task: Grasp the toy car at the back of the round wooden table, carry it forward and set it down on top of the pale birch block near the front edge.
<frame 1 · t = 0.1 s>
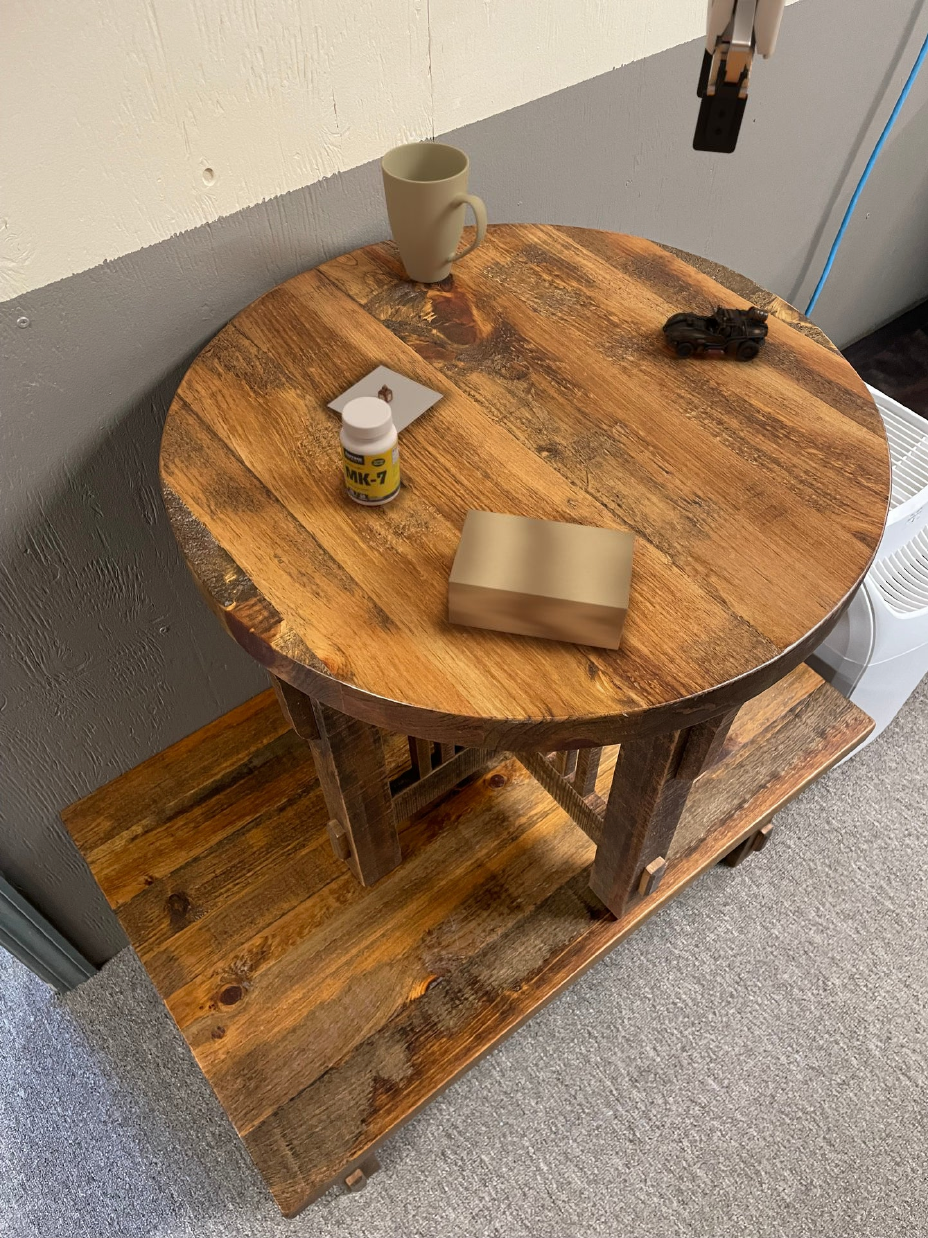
hand: (714, 122, 69), 23 cm above the table, tool pointing down, fingers open, 9 cm apart
supplement bottle: (373, 490, 76), on the table
toy car: (705, 345, 89), on the table
birch block: (539, 598, 68), on the table
mug: (436, 275, 97), on the table
gray square plate: (385, 402, 83), on the table
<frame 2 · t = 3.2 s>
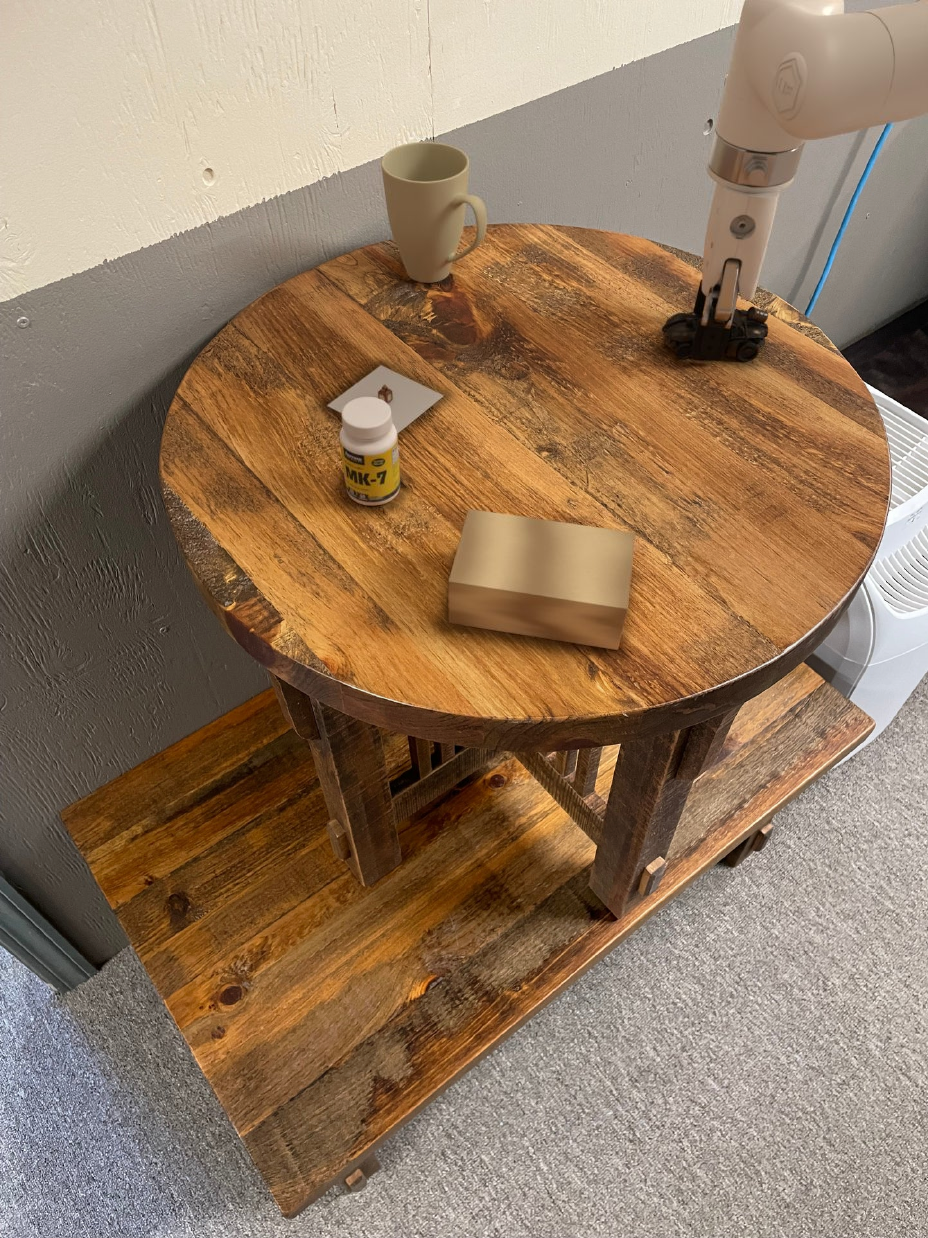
hand: (707, 335, 88), 1 cm above the table, tool pointing down, fingers closed on toy car, 6 cm apart
toy car: (704, 346, 89), on the table, touching gripper
everything else where it was.
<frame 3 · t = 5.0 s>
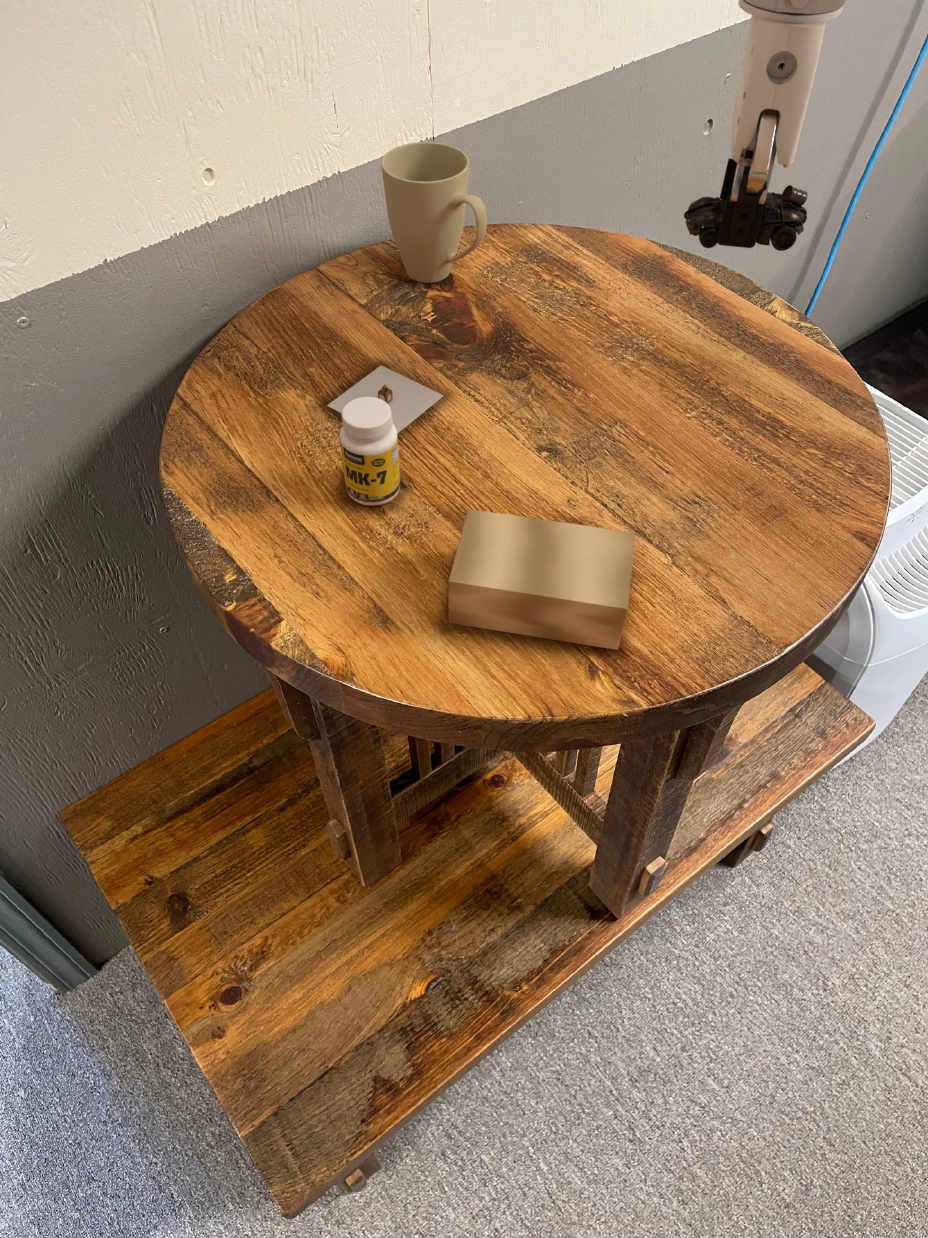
hand: (736, 223, 77), 14 cm above the table, tool pointing down, fingers closed on toy car, 6 cm apart
toy car: (733, 236, 78), point 13 cm above the table, touching gripper
everything else where it was.
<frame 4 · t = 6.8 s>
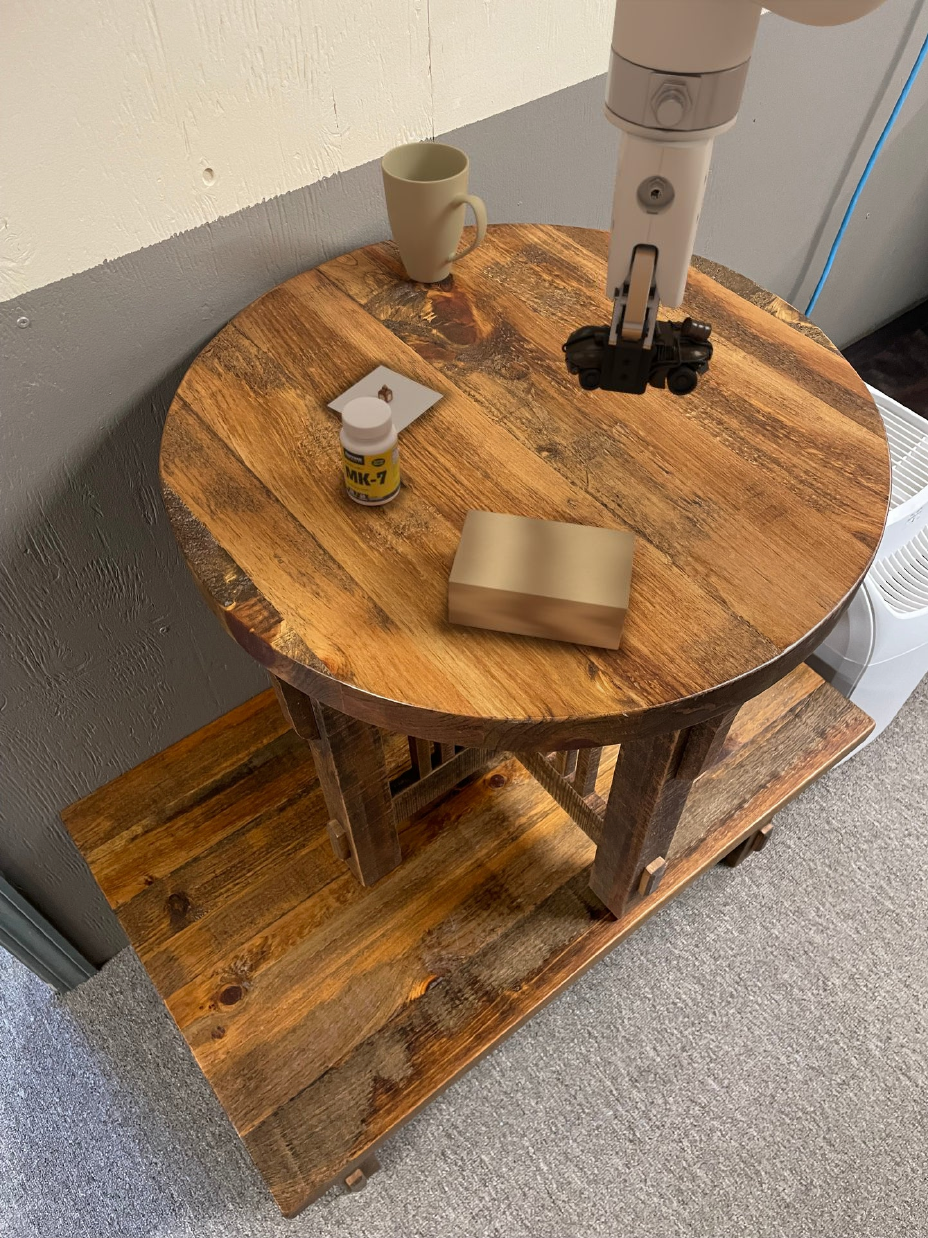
hand: (627, 358, 62), 15 cm above the table, tool pointing down, fingers closed on toy car, 6 cm apart
toy car: (624, 372, 63), point 14 cm above the table, touching gripper
everything else where it was.
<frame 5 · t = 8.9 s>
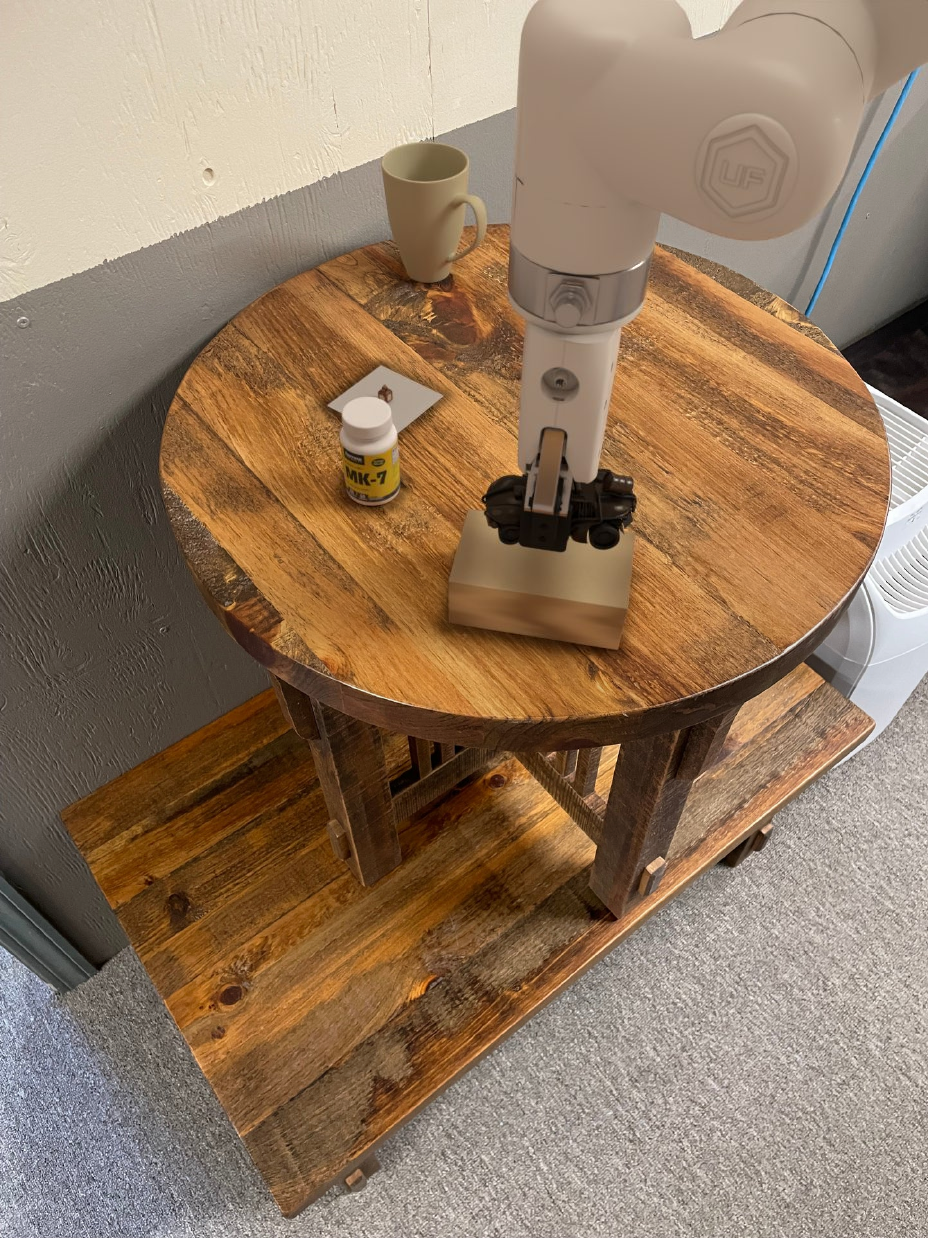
hand: (549, 508, 60), 10 cm above the table, tool pointing down, fingers closed on toy car, 6 cm apart
toy car: (547, 521, 61), point 9 cm above the table, touching gripper
everything else where it was.
when the fingers open (6 cm above the table, at t = 10.5 s): toy car stays where it is, resting on birch block.
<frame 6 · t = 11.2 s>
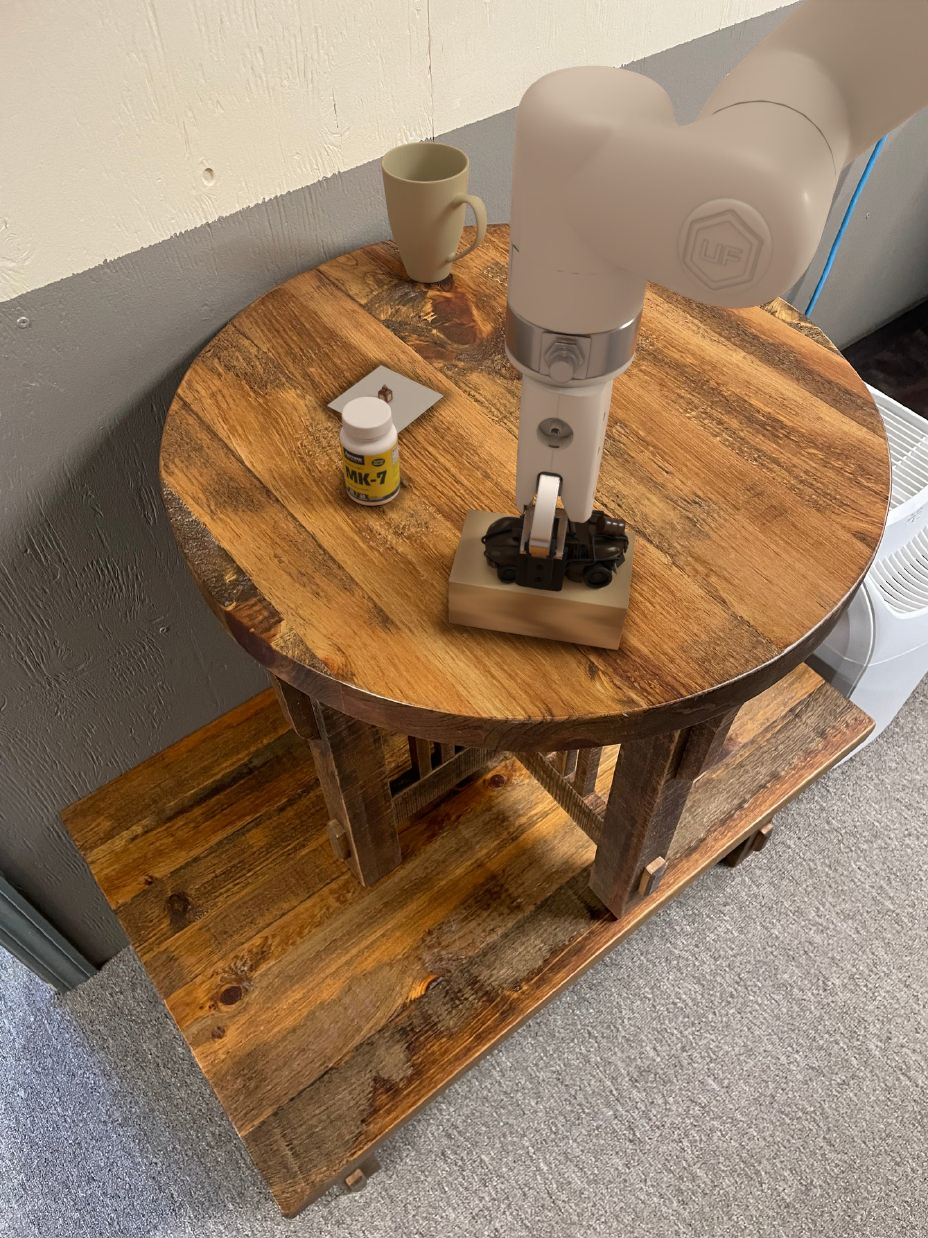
hand: (548, 535, 62), 7 cm above the table, tool pointing down, fingers open, 9 cm apart
toy car: (544, 560, 64), point 5 cm above the table, touching birch block
everything else where it was.
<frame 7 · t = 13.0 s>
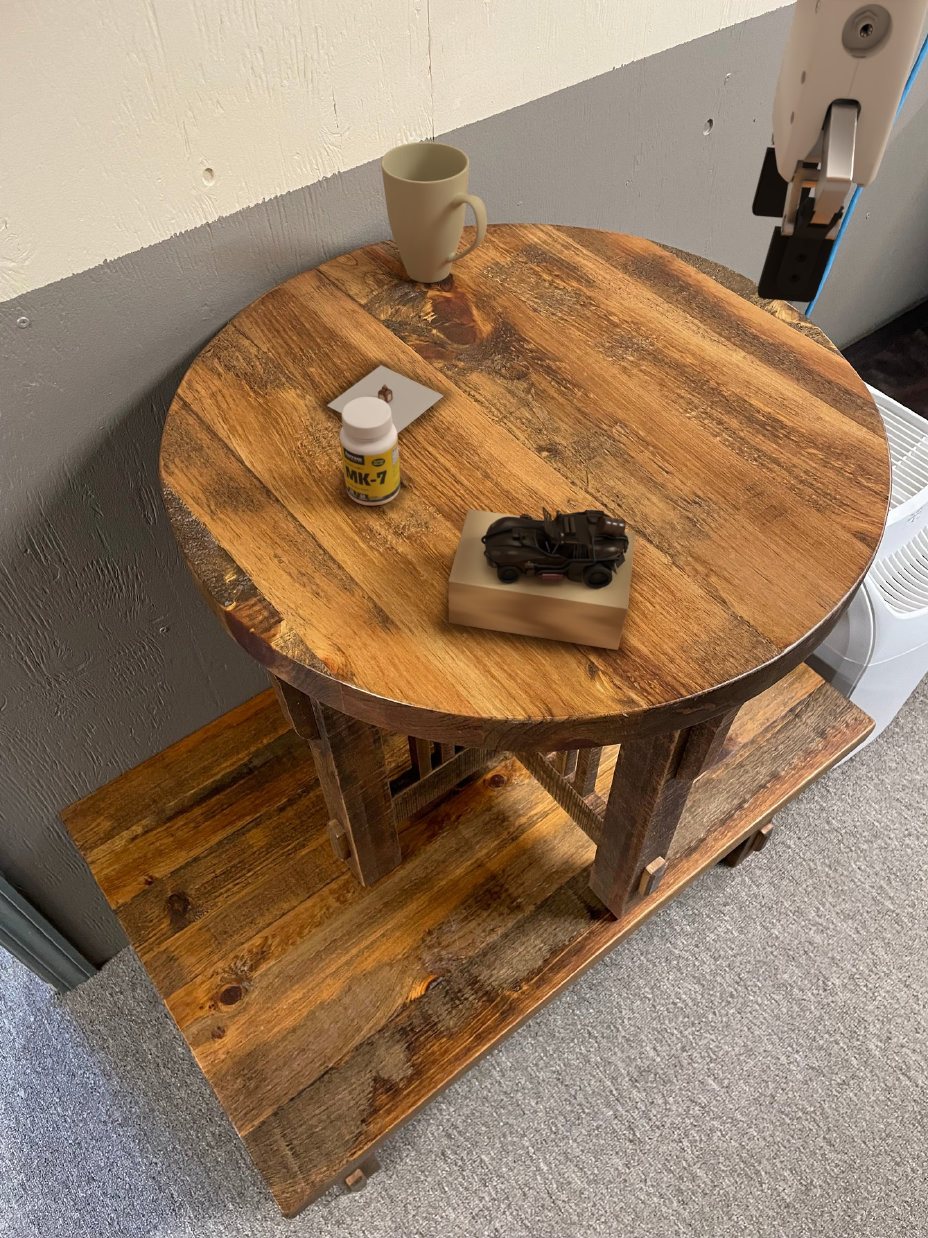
hand: (780, 254, 53), 25 cm above the table, tool pointing down, fingers open, 9 cm apart
nothing on the table moved.
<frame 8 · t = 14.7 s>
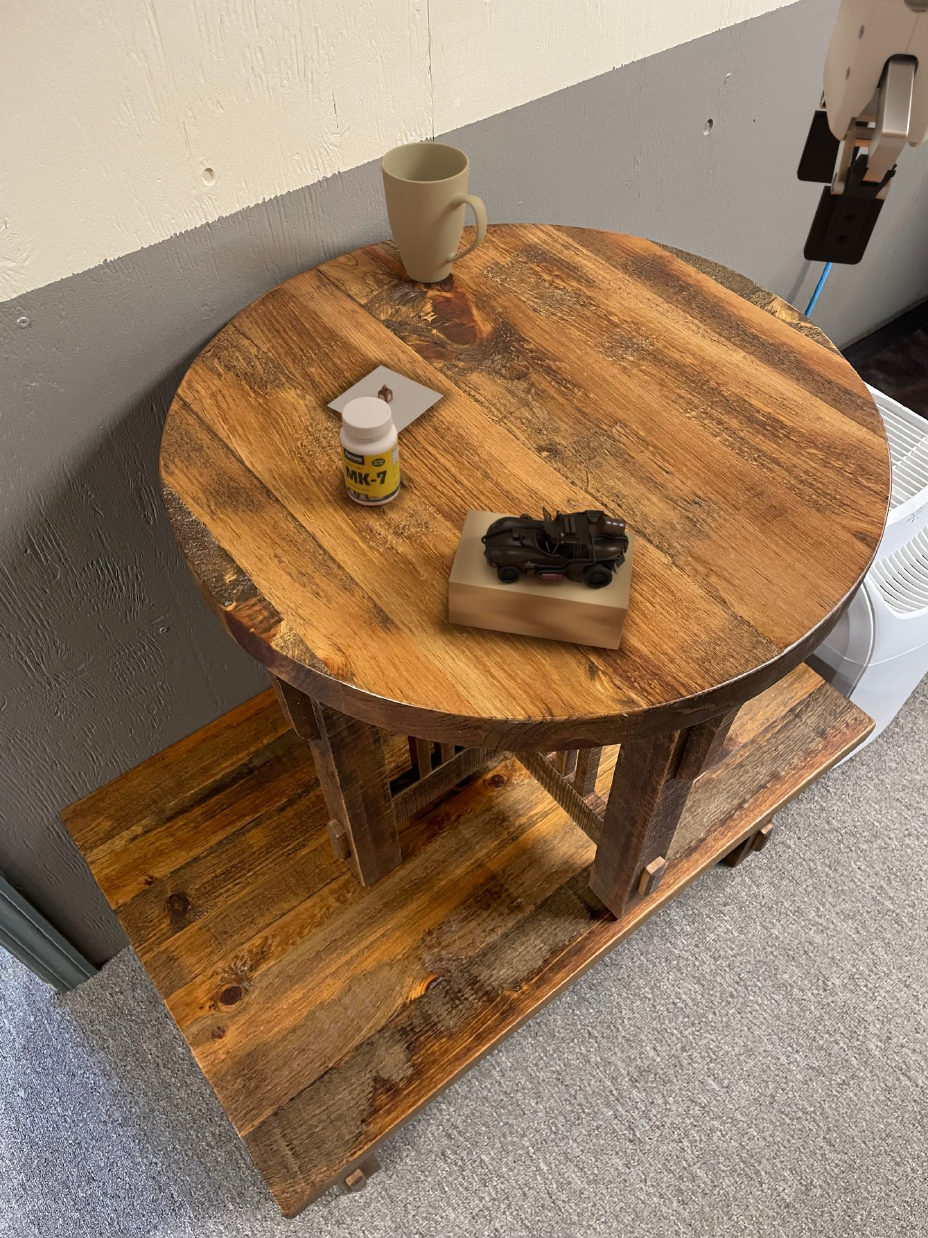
hand: (825, 218, 53), 26 cm above the table, tool pointing down, fingers open, 9 cm apart
nothing on the table moved.
at the end: toy car inside the target area on the birch block (0.2 cm from its centre), point 4.8 cm above the birch block's base; toy car tilted 0°; the gripper is holding nothing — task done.
